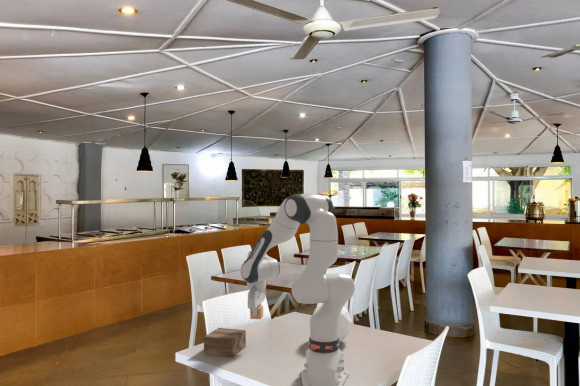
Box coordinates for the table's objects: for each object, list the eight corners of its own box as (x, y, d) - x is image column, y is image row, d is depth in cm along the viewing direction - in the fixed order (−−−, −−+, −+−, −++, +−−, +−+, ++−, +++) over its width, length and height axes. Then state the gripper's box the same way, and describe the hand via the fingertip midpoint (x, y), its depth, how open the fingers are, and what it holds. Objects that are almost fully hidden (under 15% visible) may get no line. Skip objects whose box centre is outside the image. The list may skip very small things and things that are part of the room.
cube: (260, 319, 198) (260, 308, 198) (250, 319, 199) (250, 308, 199) (263, 316, 203) (263, 305, 203) (252, 316, 204) (252, 305, 204)
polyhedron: (337, 352, 211) (357, 317, 216) (337, 351, 193) (360, 312, 198) (304, 330, 216) (325, 296, 222) (302, 327, 198) (324, 290, 203)
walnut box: (232, 358, 187) (232, 339, 187) (204, 354, 192) (203, 336, 192) (245, 347, 200) (245, 330, 201) (218, 344, 205) (218, 327, 205)
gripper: (257, 288, 190) (258, 320, 190) (267, 280, 211) (268, 309, 210) (243, 288, 191) (244, 319, 191) (255, 280, 212) (255, 308, 211)
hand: (256, 314), depth 201 cm, fingers closed on cube, 5 cm apart
